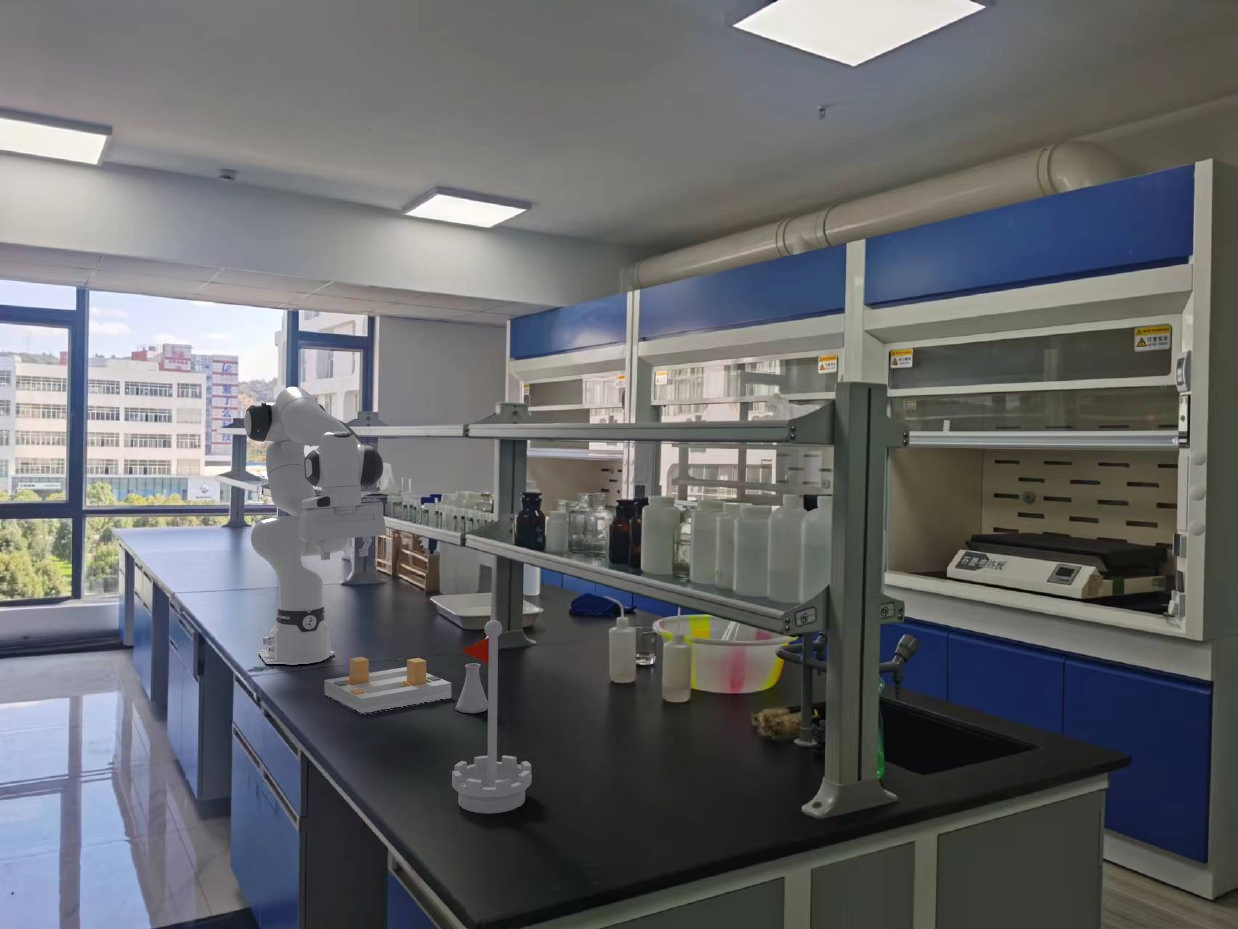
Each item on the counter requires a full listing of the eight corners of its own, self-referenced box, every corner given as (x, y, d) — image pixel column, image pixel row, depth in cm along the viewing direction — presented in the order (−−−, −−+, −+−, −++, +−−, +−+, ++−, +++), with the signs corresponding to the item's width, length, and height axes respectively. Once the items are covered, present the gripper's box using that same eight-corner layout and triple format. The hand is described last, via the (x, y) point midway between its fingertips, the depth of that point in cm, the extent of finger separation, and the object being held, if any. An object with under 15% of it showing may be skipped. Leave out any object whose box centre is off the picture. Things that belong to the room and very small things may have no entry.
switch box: (324, 695, 215) (324, 678, 215) (410, 680, 229) (410, 665, 229) (361, 714, 200) (361, 697, 200) (451, 697, 214) (451, 681, 214)
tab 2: (404, 688, 215) (404, 659, 215) (420, 685, 217) (420, 657, 217) (412, 692, 212) (412, 663, 212) (428, 689, 214) (428, 660, 214)
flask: (470, 703, 210) (470, 659, 210) (495, 708, 206) (495, 663, 206) (449, 711, 204) (449, 665, 204) (474, 716, 200) (474, 670, 200)
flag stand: (533, 785, 160) (535, 613, 159) (528, 816, 147) (530, 628, 146) (457, 785, 160) (459, 612, 159) (446, 816, 147) (447, 627, 146)
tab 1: (347, 687, 215) (347, 658, 215) (363, 684, 218) (363, 656, 217) (354, 690, 212) (354, 661, 212) (370, 688, 215) (370, 659, 215)
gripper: (376, 497, 227) (379, 554, 226) (294, 502, 214) (297, 562, 213) (388, 496, 222) (391, 554, 222) (305, 501, 209) (308, 562, 208)
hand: (345, 558), depth 217 cm, fingers open, 8 cm apart
